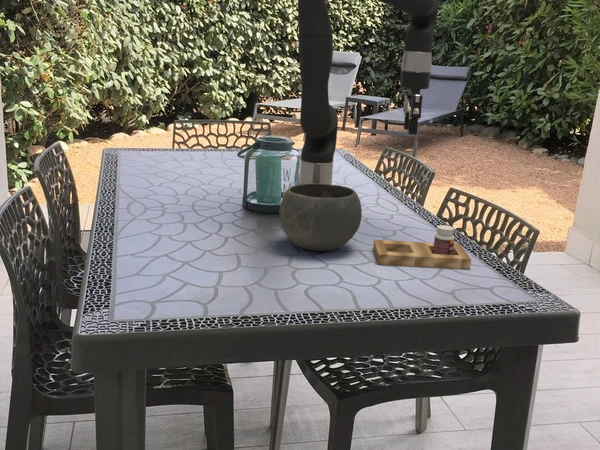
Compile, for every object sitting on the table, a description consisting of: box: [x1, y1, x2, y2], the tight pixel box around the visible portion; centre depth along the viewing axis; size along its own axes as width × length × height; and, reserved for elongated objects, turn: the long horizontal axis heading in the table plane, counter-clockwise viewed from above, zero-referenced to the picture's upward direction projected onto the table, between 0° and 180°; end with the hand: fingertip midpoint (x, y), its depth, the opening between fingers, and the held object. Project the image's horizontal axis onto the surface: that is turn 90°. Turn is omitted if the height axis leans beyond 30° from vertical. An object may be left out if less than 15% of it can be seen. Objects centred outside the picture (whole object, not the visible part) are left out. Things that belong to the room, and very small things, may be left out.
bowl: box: [278, 183, 363, 252], centre depth 173 cm, size 20×20×15 cm
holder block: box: [372, 239, 472, 270], centre depth 170 cm, size 22×12×2 cm, turn 89°
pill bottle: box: [433, 225, 456, 255], centre depth 170 cm, size 5×5×8 cm
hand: (410, 131), depth 184 cm, fingers open, 8 cm apart
